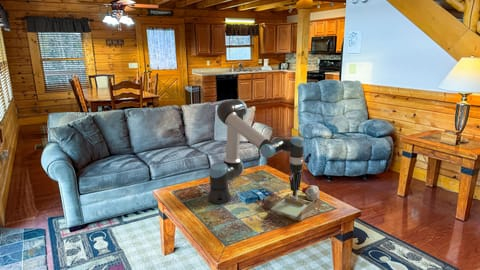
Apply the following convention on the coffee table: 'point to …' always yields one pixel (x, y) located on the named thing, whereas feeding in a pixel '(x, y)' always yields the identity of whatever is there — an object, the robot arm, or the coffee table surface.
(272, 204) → the walnut block
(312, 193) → the candle
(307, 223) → the coffee table surface
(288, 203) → the lid
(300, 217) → the box
